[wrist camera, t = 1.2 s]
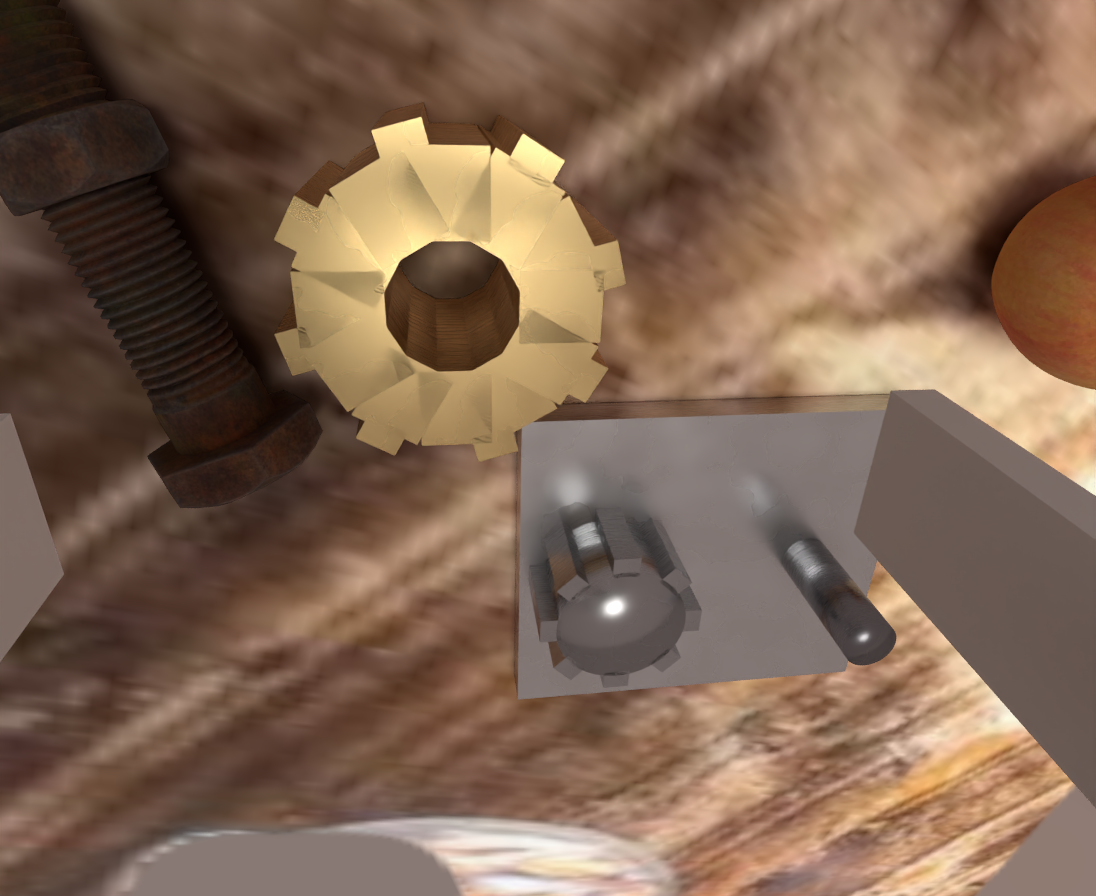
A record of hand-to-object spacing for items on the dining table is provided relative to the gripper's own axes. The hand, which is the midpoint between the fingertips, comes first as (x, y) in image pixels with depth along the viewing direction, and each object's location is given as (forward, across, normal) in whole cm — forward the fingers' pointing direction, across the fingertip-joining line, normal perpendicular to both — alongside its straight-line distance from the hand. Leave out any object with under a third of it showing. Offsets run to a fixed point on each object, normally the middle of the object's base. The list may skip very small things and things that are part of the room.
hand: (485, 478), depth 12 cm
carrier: (+16, +10, -13) cm, 23 cm away
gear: (+16, 0, 0) cm, 16 cm away
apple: (+16, +22, 0) cm, 28 cm away
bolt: (+16, -10, 0) cm, 19 cm away
